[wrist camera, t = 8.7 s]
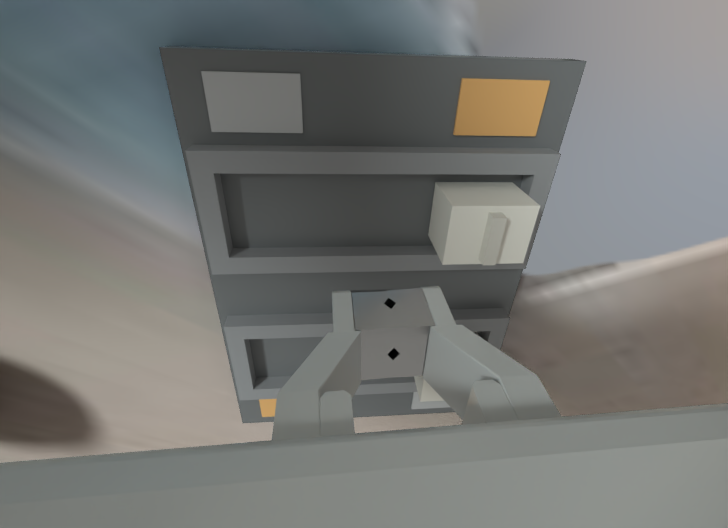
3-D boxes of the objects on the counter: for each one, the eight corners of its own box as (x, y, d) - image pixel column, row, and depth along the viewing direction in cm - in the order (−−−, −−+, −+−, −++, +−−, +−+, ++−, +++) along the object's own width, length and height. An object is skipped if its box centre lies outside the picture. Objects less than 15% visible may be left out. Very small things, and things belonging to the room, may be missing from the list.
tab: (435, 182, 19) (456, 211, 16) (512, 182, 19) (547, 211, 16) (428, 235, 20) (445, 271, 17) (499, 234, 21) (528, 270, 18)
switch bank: (169, 46, 16) (149, 48, 14) (571, 59, 18) (600, 63, 16) (245, 409, 29) (240, 435, 27) (474, 397, 30) (484, 422, 28)
